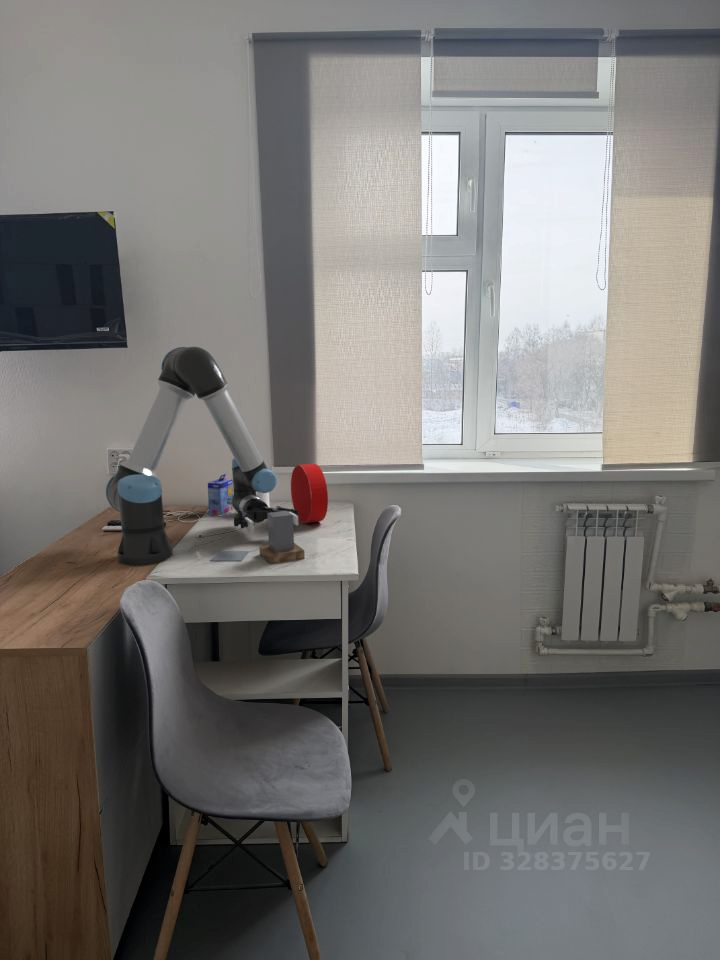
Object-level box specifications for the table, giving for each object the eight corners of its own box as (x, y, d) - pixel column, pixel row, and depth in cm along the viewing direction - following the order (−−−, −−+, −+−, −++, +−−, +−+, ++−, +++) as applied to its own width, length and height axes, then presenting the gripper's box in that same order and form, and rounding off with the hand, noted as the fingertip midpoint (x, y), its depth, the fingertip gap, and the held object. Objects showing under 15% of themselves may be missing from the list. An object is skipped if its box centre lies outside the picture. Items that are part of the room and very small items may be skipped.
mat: (210, 562, 186) (209, 560, 186) (219, 553, 195) (219, 550, 195) (241, 563, 185) (241, 560, 185) (249, 553, 194) (249, 550, 194)
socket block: (270, 565, 182) (269, 555, 181) (259, 556, 191) (259, 546, 190) (304, 560, 186) (304, 550, 185) (292, 551, 195) (292, 541, 194)
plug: (275, 560, 185) (273, 517, 182) (269, 555, 190) (267, 512, 187) (294, 557, 187) (292, 514, 185) (288, 552, 192) (286, 510, 190)
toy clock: (328, 527, 222) (327, 467, 218) (312, 529, 219) (310, 469, 216) (307, 514, 240) (305, 459, 236) (291, 516, 237) (289, 461, 233)
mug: (241, 519, 236) (240, 489, 234) (248, 511, 247) (247, 482, 245) (265, 518, 235) (264, 489, 233) (271, 510, 247) (270, 482, 245)
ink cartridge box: (222, 516, 240) (219, 477, 237) (208, 515, 242) (205, 476, 239) (234, 510, 249) (232, 472, 247) (221, 509, 251) (219, 471, 248)
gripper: (291, 515, 218) (315, 530, 200) (216, 525, 208) (233, 542, 189) (290, 493, 217) (314, 506, 198) (214, 502, 207) (232, 516, 188)
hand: (275, 523), depth 194 cm, fingers open, 13 cm apart
